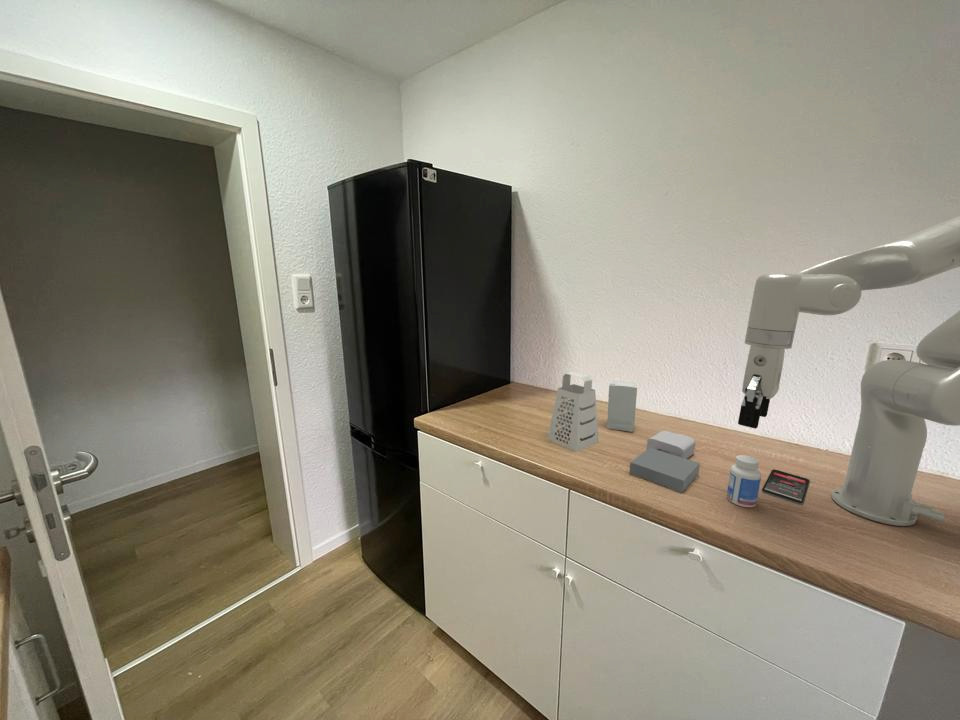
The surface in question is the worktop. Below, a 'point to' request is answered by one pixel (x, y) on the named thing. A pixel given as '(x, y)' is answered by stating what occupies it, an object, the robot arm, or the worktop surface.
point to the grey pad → (665, 469)
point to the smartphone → (786, 486)
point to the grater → (575, 414)
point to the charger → (672, 444)
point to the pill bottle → (744, 481)
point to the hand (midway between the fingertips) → (752, 420)
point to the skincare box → (622, 405)
